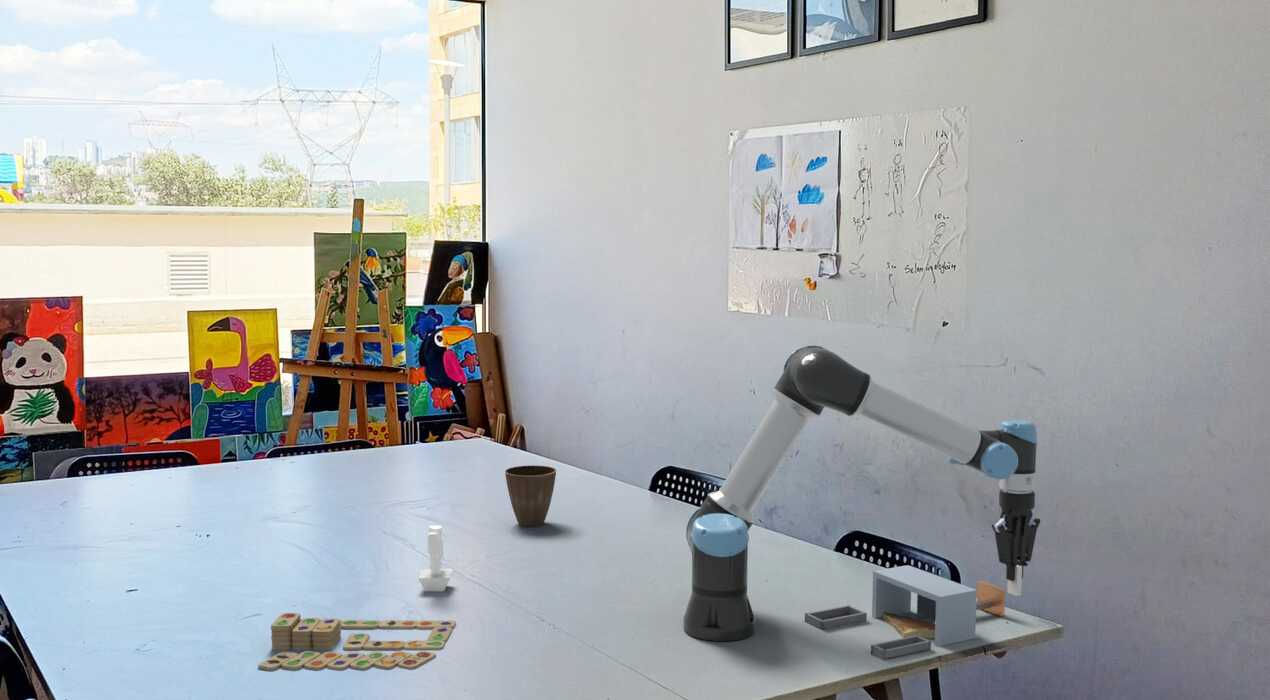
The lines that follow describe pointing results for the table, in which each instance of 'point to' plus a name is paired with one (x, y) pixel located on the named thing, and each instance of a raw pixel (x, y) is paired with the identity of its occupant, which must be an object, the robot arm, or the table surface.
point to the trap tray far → (835, 617)
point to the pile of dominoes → (350, 643)
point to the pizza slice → (911, 626)
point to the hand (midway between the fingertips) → (1014, 593)
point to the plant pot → (530, 493)
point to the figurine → (435, 563)
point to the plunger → (987, 600)
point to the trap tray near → (900, 647)
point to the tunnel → (950, 598)
